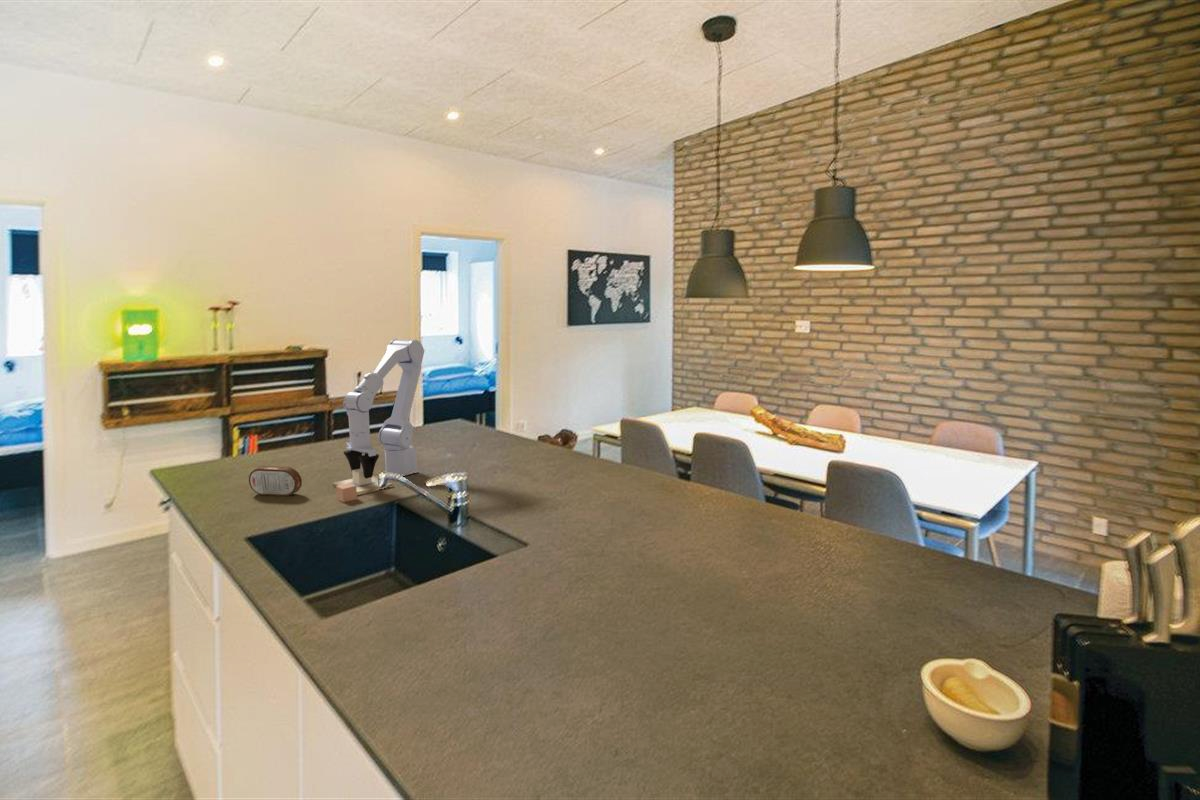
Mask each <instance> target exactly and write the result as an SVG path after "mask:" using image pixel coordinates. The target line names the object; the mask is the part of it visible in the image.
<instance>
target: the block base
mask: <svg viewBox="0 0 1200 800" xmlns="http://www.w3.org/2000/svg"><path fill="white" fill-rule="evenodd" d="M351 473H352V479H353V483H354V484H356V485H359V486H360V485H365V484H369V483H372V477H371V478H365V477H364V473H363V468H361V467H360V469H356V470H352V471H351Z"/></svg>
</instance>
